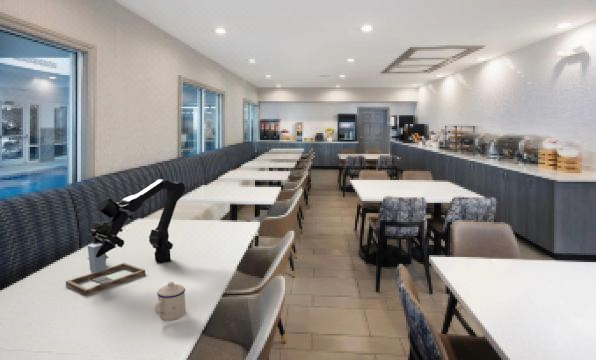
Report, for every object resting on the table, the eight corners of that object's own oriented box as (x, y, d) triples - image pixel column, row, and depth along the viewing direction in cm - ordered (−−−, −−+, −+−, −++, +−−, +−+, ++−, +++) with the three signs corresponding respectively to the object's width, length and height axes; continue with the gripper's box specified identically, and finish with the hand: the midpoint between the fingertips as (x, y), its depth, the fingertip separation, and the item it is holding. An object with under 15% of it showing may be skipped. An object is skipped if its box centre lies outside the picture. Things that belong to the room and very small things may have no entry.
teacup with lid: (171, 306, 141) (169, 275, 140) (191, 311, 138) (190, 279, 136) (146, 322, 131) (144, 288, 129) (167, 327, 127) (165, 293, 125)
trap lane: (124, 266, 181) (124, 262, 181) (145, 274, 172) (145, 270, 172) (66, 285, 161) (65, 281, 160) (86, 295, 151) (85, 290, 151)
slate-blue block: (101, 267, 166) (98, 242, 164) (106, 269, 164) (103, 244, 162) (90, 270, 163) (87, 245, 161) (96, 273, 160) (93, 247, 158)
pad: (118, 272, 174) (117, 272, 174) (127, 276, 170) (127, 275, 170) (104, 277, 169) (104, 276, 169) (113, 281, 165) (113, 280, 165)
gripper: (90, 210, 168) (66, 242, 161) (114, 216, 157) (89, 250, 150) (110, 224, 175) (88, 255, 168) (134, 230, 165) (111, 263, 158)
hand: (93, 256), depth 161 cm, fingers closed on slate-blue block, 4 cm apart
